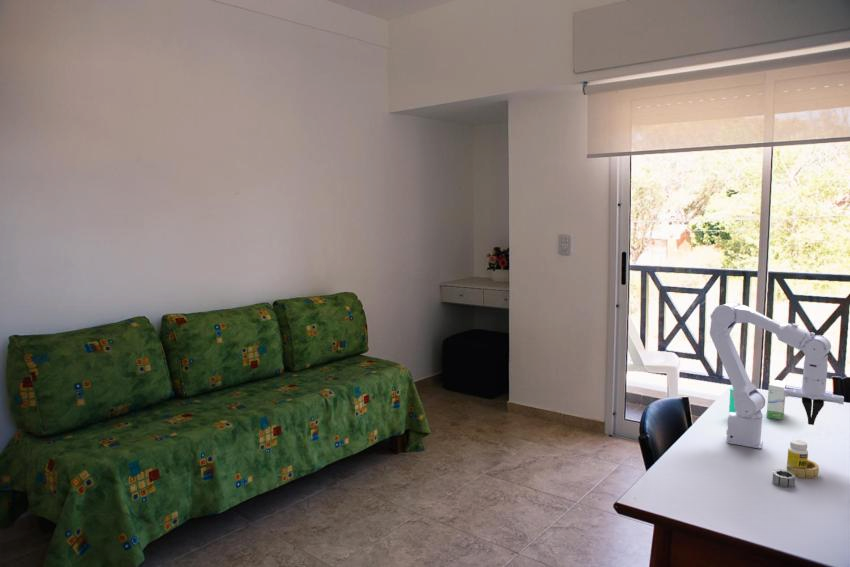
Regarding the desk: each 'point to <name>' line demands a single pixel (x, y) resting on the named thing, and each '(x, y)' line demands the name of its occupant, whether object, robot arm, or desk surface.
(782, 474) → the small steel collar
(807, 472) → the wide wooden arch
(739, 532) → the desk surface
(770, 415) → the ink box
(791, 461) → the supplement bottle
